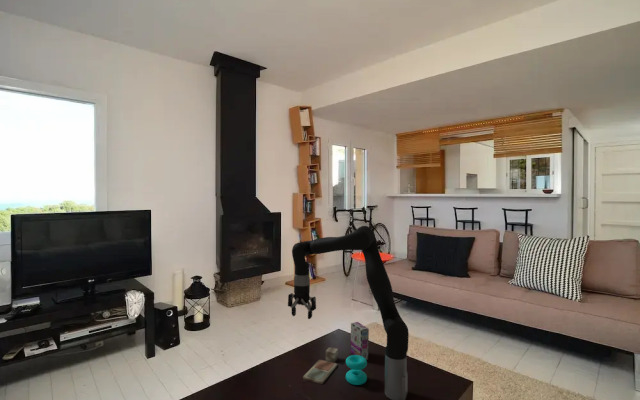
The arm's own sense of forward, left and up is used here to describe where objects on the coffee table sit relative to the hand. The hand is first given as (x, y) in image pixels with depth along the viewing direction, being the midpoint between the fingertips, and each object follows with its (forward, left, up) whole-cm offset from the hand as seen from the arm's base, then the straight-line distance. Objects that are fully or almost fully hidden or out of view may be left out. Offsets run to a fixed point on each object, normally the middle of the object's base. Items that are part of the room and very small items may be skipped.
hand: (301, 317), depth 153 cm
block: (-7, -21, -28) cm, 36 cm away
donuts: (-25, -8, -28) cm, 39 cm away
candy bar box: (-19, -31, -28) cm, 46 cm away
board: (-7, -7, -28) cm, 30 cm away
